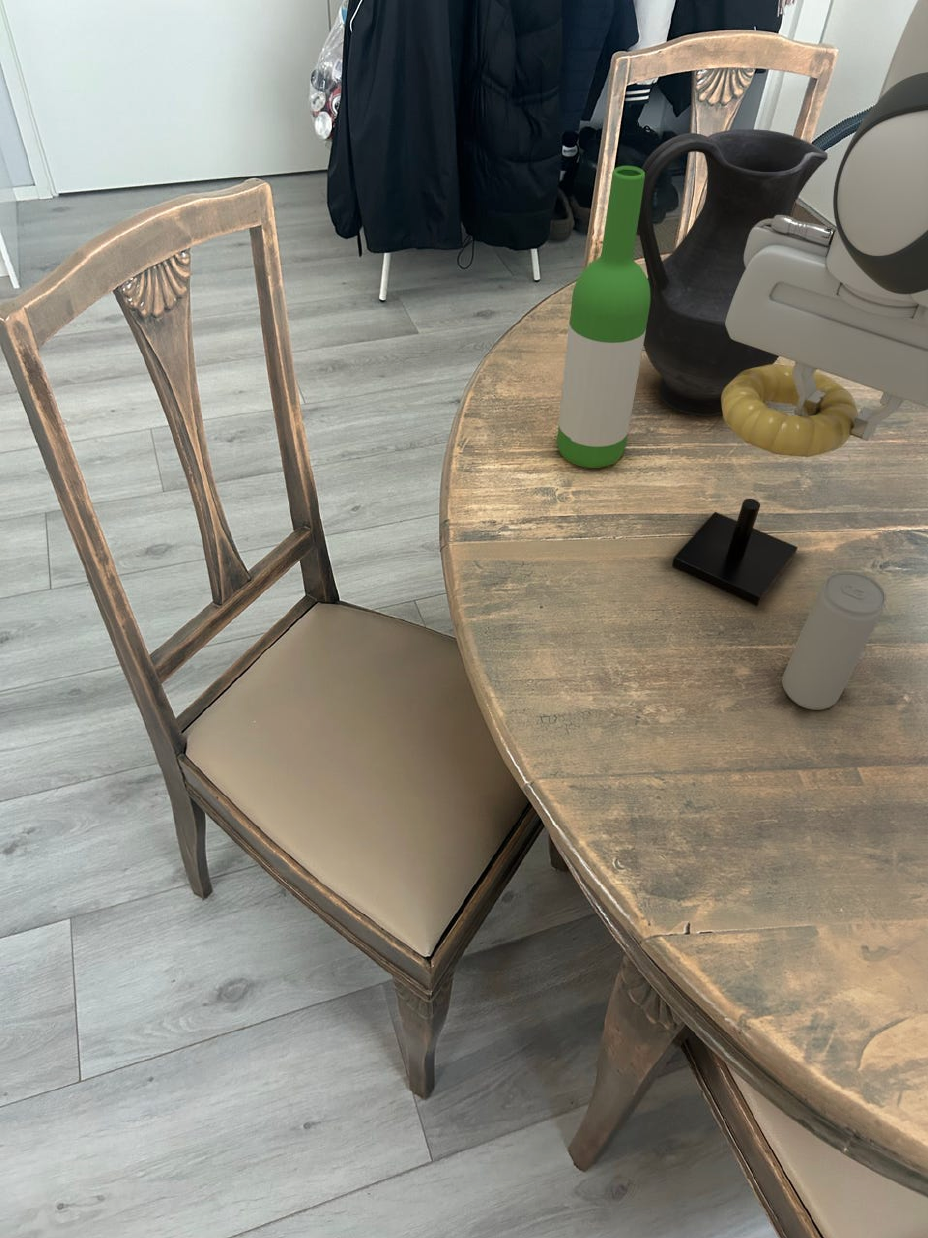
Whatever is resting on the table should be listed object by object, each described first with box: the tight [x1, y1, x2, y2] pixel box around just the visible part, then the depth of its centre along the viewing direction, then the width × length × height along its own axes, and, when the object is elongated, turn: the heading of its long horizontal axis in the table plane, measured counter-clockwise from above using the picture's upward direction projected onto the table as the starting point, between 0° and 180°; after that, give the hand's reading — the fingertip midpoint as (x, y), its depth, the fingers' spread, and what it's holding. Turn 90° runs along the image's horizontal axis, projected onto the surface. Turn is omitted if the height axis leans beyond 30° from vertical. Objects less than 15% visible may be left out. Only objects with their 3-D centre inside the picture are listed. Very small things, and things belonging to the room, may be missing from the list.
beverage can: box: [781, 570, 887, 711], centre depth 71 cm, size 5×5×12 cm
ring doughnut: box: [721, 363, 859, 458], centre depth 70 cm, size 10×10×3 cm
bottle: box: [556, 165, 650, 469], centre depth 89 cm, size 8×8×30 cm
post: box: [671, 498, 798, 606], centre depth 84 cm, size 9×9×7 cm
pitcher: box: [637, 128, 828, 417], centre depth 97 cm, size 17×21×30 cm
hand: (833, 424), depth 68 cm, fingers closed on ring doughnut, 3 cm apart
